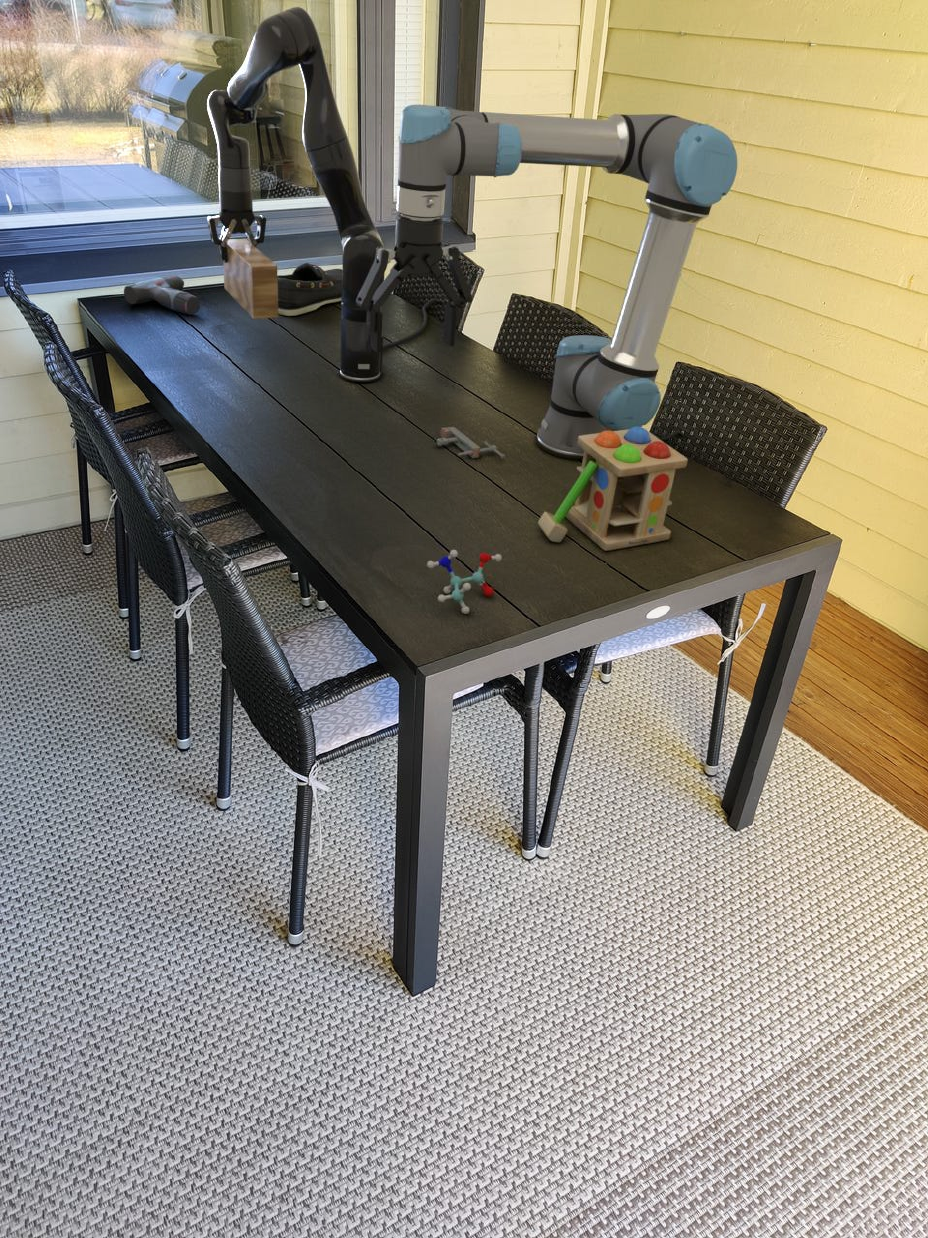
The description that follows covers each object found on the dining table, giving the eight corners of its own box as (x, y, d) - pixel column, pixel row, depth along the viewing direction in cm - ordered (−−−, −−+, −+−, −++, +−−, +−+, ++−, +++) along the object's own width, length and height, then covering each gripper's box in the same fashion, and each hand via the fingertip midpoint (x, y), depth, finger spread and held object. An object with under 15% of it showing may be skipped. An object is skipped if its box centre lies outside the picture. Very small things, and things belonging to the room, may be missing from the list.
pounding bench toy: (563, 559, 168) (578, 464, 158) (523, 521, 178) (535, 429, 168) (671, 539, 177) (692, 448, 167) (627, 503, 188) (644, 416, 178)
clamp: (428, 429, 204) (470, 423, 208) (427, 439, 205) (469, 432, 209) (464, 459, 193) (507, 451, 198) (463, 469, 194) (506, 461, 199)
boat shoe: (367, 296, 285) (368, 259, 280) (292, 317, 262) (291, 278, 256) (333, 288, 291) (332, 251, 286) (256, 308, 267) (254, 269, 262)
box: (224, 288, 242) (221, 239, 235) (247, 287, 244) (245, 238, 238) (253, 318, 224) (251, 266, 218) (278, 317, 227) (277, 265, 220)
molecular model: (493, 609, 147) (472, 545, 146) (437, 624, 151) (416, 563, 149) (514, 592, 158) (494, 533, 156) (461, 607, 161) (442, 549, 160)
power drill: (228, 285, 263) (174, 269, 271) (176, 299, 250) (121, 282, 258) (229, 305, 266) (176, 289, 274) (178, 320, 253) (123, 303, 261)
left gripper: (208, 190, 222) (213, 267, 231) (270, 190, 228) (272, 264, 237) (200, 183, 227) (204, 258, 237) (260, 183, 233) (262, 256, 243)
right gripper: (355, 223, 147) (352, 360, 159) (500, 219, 158) (487, 348, 170) (337, 211, 153) (335, 344, 165) (478, 208, 163) (467, 334, 175)
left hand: (238, 261), depth 237 cm, fingers closed on box, 6 cm apart
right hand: (412, 346), depth 167 cm, fingers open, 13 cm apart
